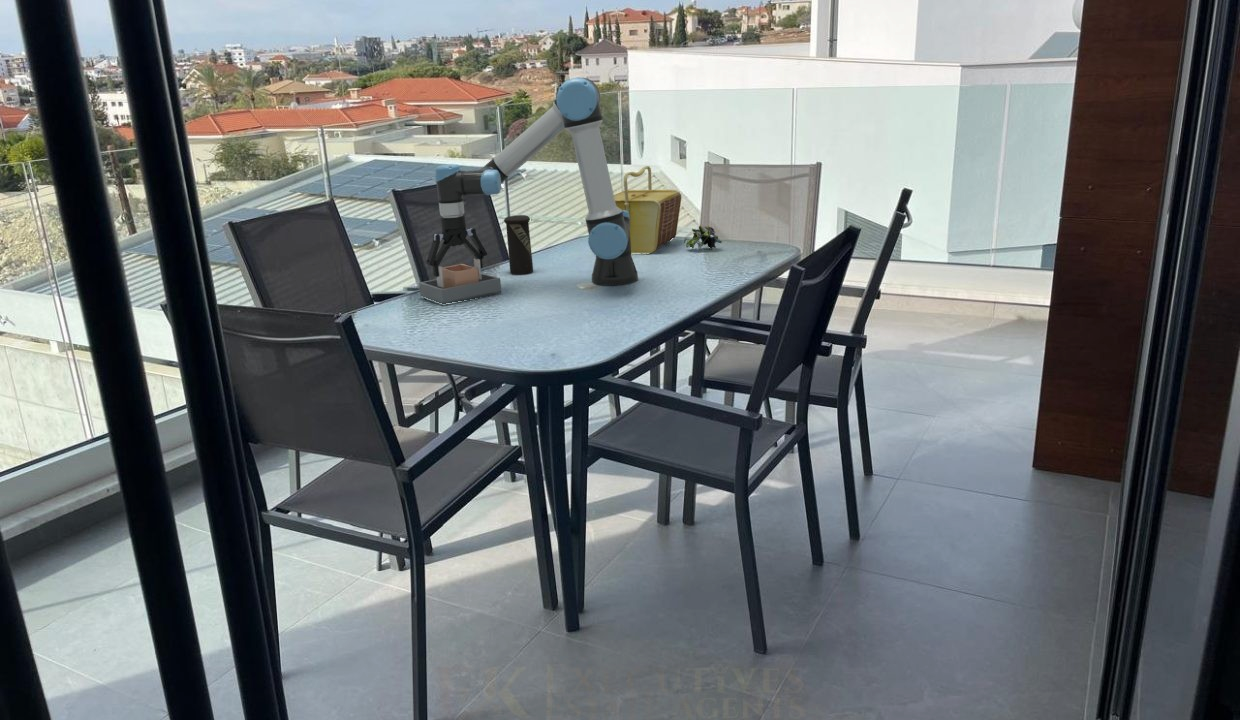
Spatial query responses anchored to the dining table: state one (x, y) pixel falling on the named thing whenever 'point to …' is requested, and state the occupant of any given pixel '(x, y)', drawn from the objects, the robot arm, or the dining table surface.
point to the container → (519, 244)
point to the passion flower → (703, 237)
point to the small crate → (459, 275)
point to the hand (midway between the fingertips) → (459, 282)
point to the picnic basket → (649, 214)
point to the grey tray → (461, 290)
